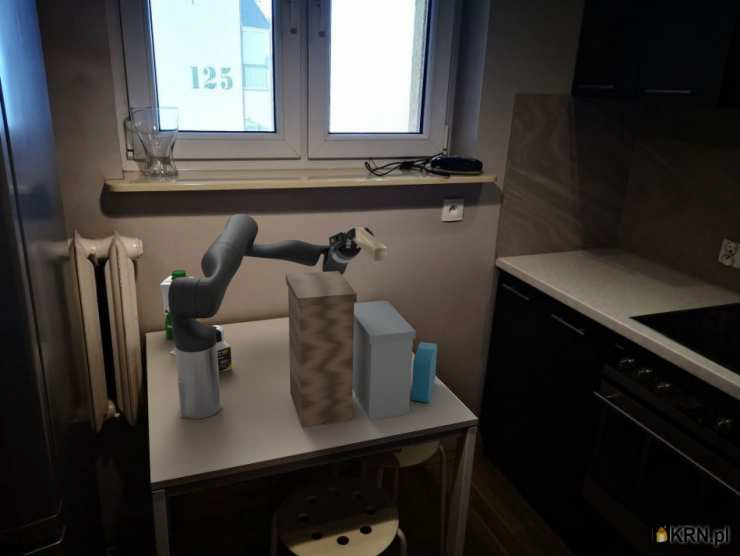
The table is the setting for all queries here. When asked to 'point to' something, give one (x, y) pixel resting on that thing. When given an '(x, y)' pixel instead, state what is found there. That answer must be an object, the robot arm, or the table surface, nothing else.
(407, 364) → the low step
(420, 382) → the data package
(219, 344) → the medicine bottle
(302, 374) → the wooden column with lip
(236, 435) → the table surface
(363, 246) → the birch rod
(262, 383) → the table surface
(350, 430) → the table surface
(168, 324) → the milk carton
